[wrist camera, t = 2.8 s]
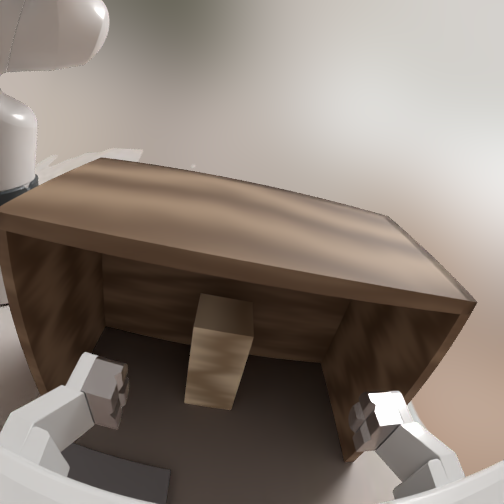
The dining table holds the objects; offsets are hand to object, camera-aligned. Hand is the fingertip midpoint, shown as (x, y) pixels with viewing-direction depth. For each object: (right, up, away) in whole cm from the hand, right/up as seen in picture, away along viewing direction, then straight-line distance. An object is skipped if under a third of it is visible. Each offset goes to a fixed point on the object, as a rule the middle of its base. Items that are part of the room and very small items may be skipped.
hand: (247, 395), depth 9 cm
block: (-4, -9, +19) cm, 21 cm away
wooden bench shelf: (-4, -9, +18) cm, 21 cm away
